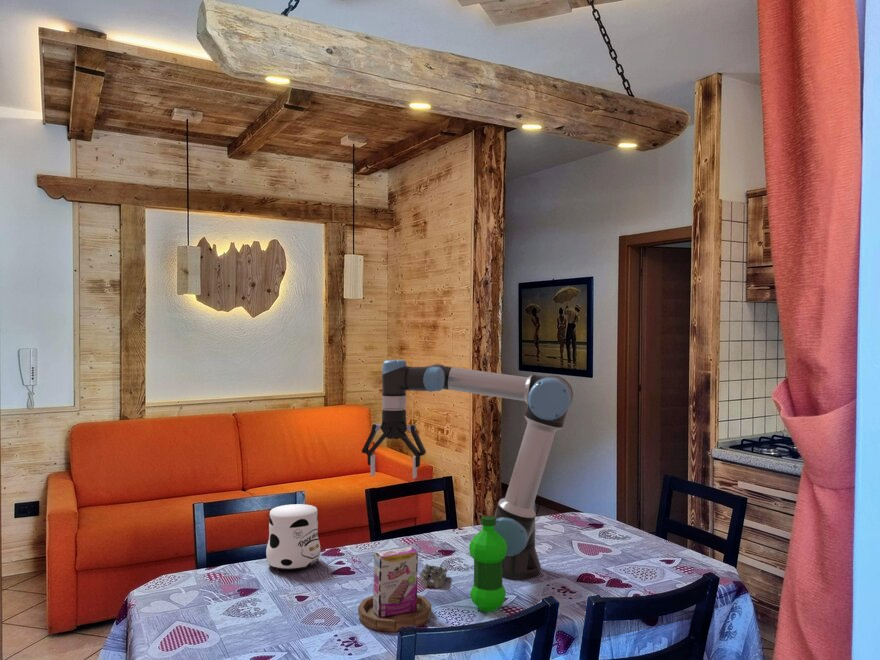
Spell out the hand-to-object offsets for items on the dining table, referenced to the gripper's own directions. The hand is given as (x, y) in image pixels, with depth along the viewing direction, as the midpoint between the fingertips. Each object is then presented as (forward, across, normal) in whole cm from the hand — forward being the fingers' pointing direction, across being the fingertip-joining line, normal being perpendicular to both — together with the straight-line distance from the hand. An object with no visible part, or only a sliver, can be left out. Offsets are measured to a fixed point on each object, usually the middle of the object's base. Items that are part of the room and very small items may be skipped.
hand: (393, 476), depth 210 cm
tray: (+31, -8, +30) cm, 44 cm away
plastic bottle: (+31, -32, +20) cm, 49 cm away
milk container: (+31, +34, -2) cm, 46 cm away
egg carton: (+31, -13, +3) cm, 34 cm away
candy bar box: (+30, -8, +30) cm, 43 cm away
